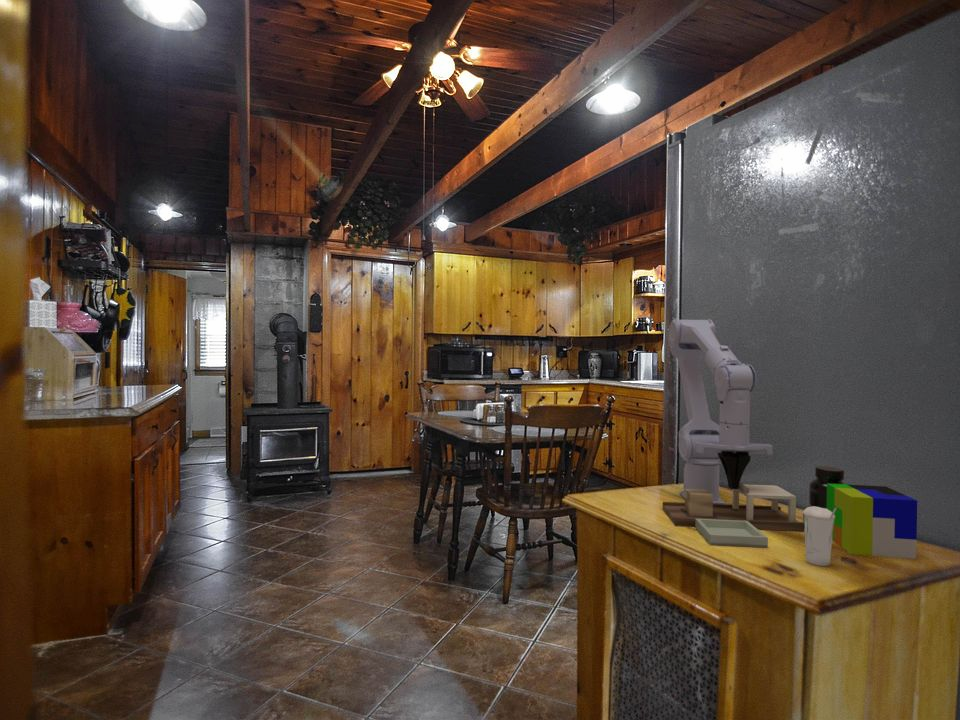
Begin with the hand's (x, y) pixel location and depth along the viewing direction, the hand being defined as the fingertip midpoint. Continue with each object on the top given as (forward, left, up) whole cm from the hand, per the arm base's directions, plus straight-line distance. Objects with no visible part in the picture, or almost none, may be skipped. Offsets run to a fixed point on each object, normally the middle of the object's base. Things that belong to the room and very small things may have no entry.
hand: (733, 488), depth 113 cm
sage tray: (+12, -4, -7) cm, 14 cm away
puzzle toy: (+13, +19, -7) cm, 24 cm away
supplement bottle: (+3, +17, -7) cm, 19 cm away
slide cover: (0, +6, -5) cm, 8 cm away
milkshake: (+23, +6, -7) cm, 25 cm away
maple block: (0, -7, -6) cm, 9 cm away
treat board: (0, -1, -7) cm, 7 cm away
